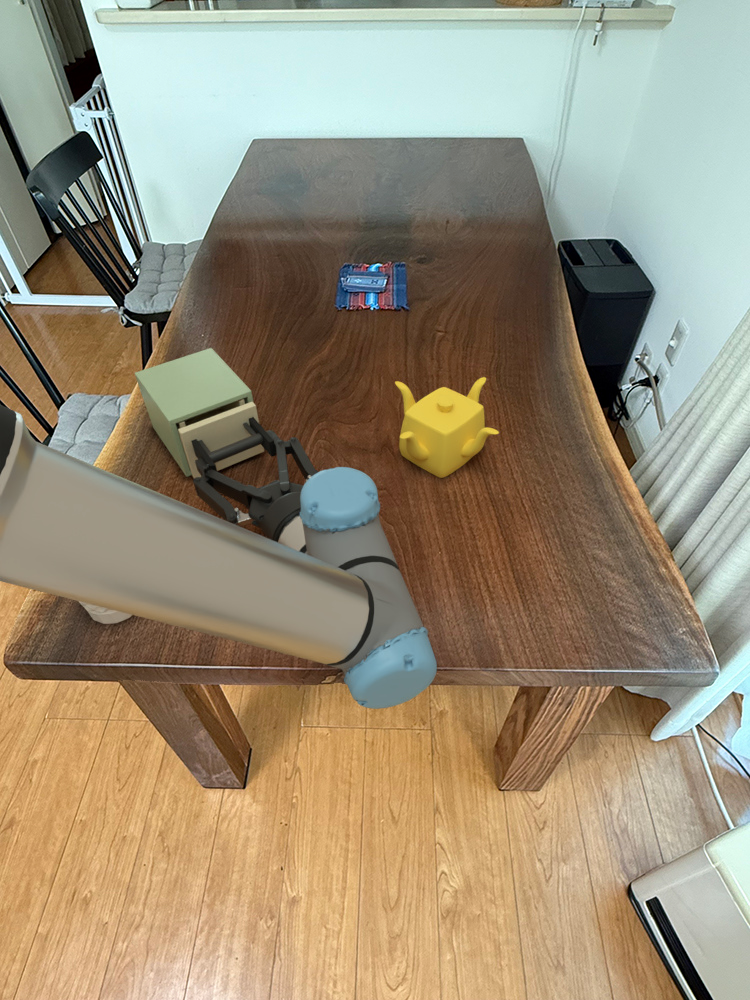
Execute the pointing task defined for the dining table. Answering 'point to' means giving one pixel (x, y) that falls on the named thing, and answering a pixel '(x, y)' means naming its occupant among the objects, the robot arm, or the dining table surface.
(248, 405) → the drawer
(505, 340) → the dining table surface
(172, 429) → the cabinet
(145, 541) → the robot arm
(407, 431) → the teapot
